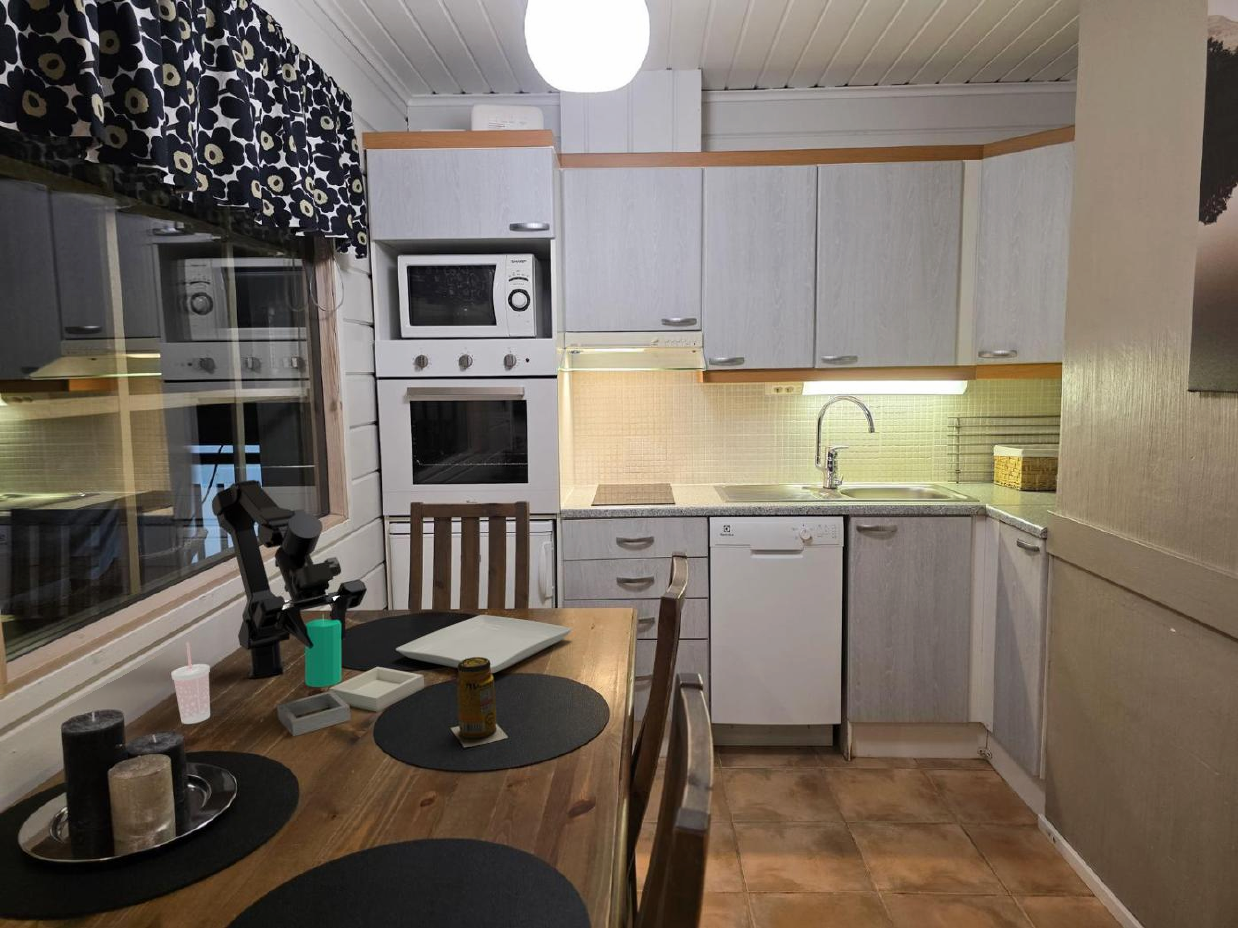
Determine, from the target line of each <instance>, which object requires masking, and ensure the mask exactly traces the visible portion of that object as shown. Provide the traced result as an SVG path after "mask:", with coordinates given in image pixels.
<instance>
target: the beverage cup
mask: <svg viewBox="0 0 1238 928" xmlns="http://www.w3.org/2000/svg"><path fill="white" fill-rule="evenodd" d="M185 646H186V652H187V662H188V663H187V664H188V665H185V666H181V667H179V668H176V669H174V670H172V671H171V673H170V674H171V679H172V680H173V682H174V687H175V694H176V698H177V699H176V700H177V705H178V711H179V717H180V720H181V721H180V722H181V723H182V724H185V725H190V724H197V723H201V722H204V721H206V720H208V719H209V718H210V716H211V705H210V703H211V702H210V672H211V666H210V664H206V663H195V664H192V655H191V647H190V642H189V641H186V645H185Z"/></svg>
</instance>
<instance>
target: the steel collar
mask: <svg viewBox="0 0 1238 928" xmlns="http://www.w3.org/2000/svg"><path fill="white" fill-rule="evenodd" d="M276 706H277V715H278V717H277V718H278V720H279V721H280V723H282V725H283V726H284V727H285V729H286V730H287V731H288V732H289V733H290V734H291V735H292V737H297V736H300V735H303V734H307V733H311V732H314V731H315V732H316V731H318V730H321V729H324V728H327V727H328V728H329V727H331V726H335V725H338V724H342V723H345V722H348V721H351V719H352V717H351V706H349V705H348V704H347V703H346V702H344V701H343V700H342V699H341V698H340V697H339V696H338V695H337V694H336V693H334V692H333V691H329V690H328V691H326V692H322V693H317V694H315V695H311V696H310V695H309V696H306V697H303V698H298V699H296V700H295V699H294V700H291V701H287V702H283V703H280V704H277V705H276ZM326 708H330V709H327V710H324V711H319V710H322V709H326ZM315 711H316V713H312V712H315ZM317 711H319V712H317ZM309 713H312V714H309ZM305 714H309V715H306V716H305ZM301 715H304V716H302V717H298V716H301Z"/></svg>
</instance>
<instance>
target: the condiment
mask: <svg viewBox="0 0 1238 928" xmlns="http://www.w3.org/2000/svg"><path fill="white" fill-rule="evenodd" d="M490 665H491V664H490V661H489V660H488V659H487V658H483V657H472V658H467V659H464V660H462V661H461V662H460V663H459V664H458V668H457V670H458V673H457V676H458V678H457V680H456V691H457V693H456V695H457V707H458V708H457V711H458V722H459V723H458V724H459V725H458V726H454V727H450V729H451V731H452V732H453V734H454V735H455V737H456V738H457V739H458V741H459V742H460V744H461V745H462V747H463V748H468V747H470V748H471V747H475V746H478V745H479V746H480V745H481V746H482V745H484V744H488V743H489V744H490V743H494V742H495V741H501V740H504V739H508V738H509V737H508V735H507V734H506V732H505V731H503V729H502V728H501V727H500V726H499V725H498V723H497V707H496V697H495V696H496V695H495V694H496V693H495V689H496V687H495V680H494V675H493V674H491V668H490Z"/></svg>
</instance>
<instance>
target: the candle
mask: <svg viewBox="0 0 1238 928" xmlns="http://www.w3.org/2000/svg"><path fill="white" fill-rule="evenodd" d="M324 616H325V615H324V613H322V618H320V619H319V618H318V619H314V620H311V621H308V622H306V623H305V626H306V628H307V633H308V636H309V638H310V640H311V642H312V643H313V647H312V648H311V649H310V648H309V647H307V646H306V645H305V644H304V676H305V677H304V678H305V679H304V682H305V685H306V686H308V687H312V688H316V687H317V688H320V687H321V688H324V687H331V686H336V685H338V684H340V682H341V681H342V640H341V622H340V621H339V620H331V619H327V618H325V617H324Z"/></svg>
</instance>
